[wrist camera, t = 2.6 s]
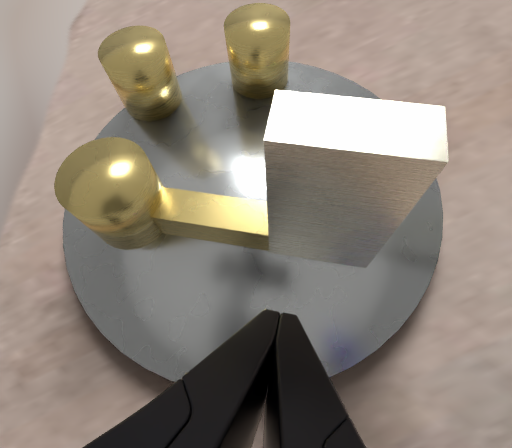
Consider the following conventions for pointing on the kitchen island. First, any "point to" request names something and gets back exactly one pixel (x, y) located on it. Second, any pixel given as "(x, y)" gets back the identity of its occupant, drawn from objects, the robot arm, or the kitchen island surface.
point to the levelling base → (241, 186)
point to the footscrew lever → (276, 182)
